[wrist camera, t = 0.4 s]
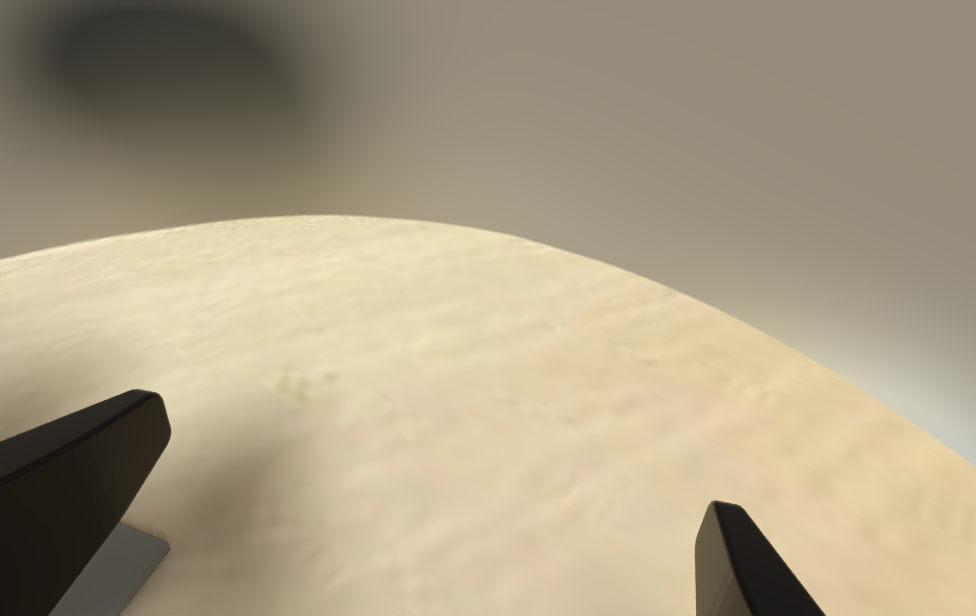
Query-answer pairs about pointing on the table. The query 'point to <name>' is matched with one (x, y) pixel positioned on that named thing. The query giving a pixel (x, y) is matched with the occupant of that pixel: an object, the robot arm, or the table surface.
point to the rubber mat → (113, 574)
